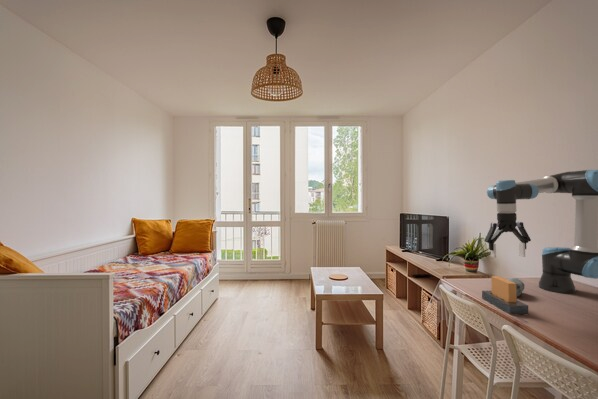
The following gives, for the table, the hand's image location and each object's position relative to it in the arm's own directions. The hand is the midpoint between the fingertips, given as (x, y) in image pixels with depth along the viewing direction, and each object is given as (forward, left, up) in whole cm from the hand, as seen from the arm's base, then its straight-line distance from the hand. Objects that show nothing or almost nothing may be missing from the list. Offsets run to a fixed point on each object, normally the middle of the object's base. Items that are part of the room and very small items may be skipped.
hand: (507, 256), depth 136 cm
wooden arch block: (+3, +1, -23) cm, 23 cm away
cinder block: (+3, +1, -23) cm, 23 cm away
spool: (-13, -15, -24) cm, 31 cm away
